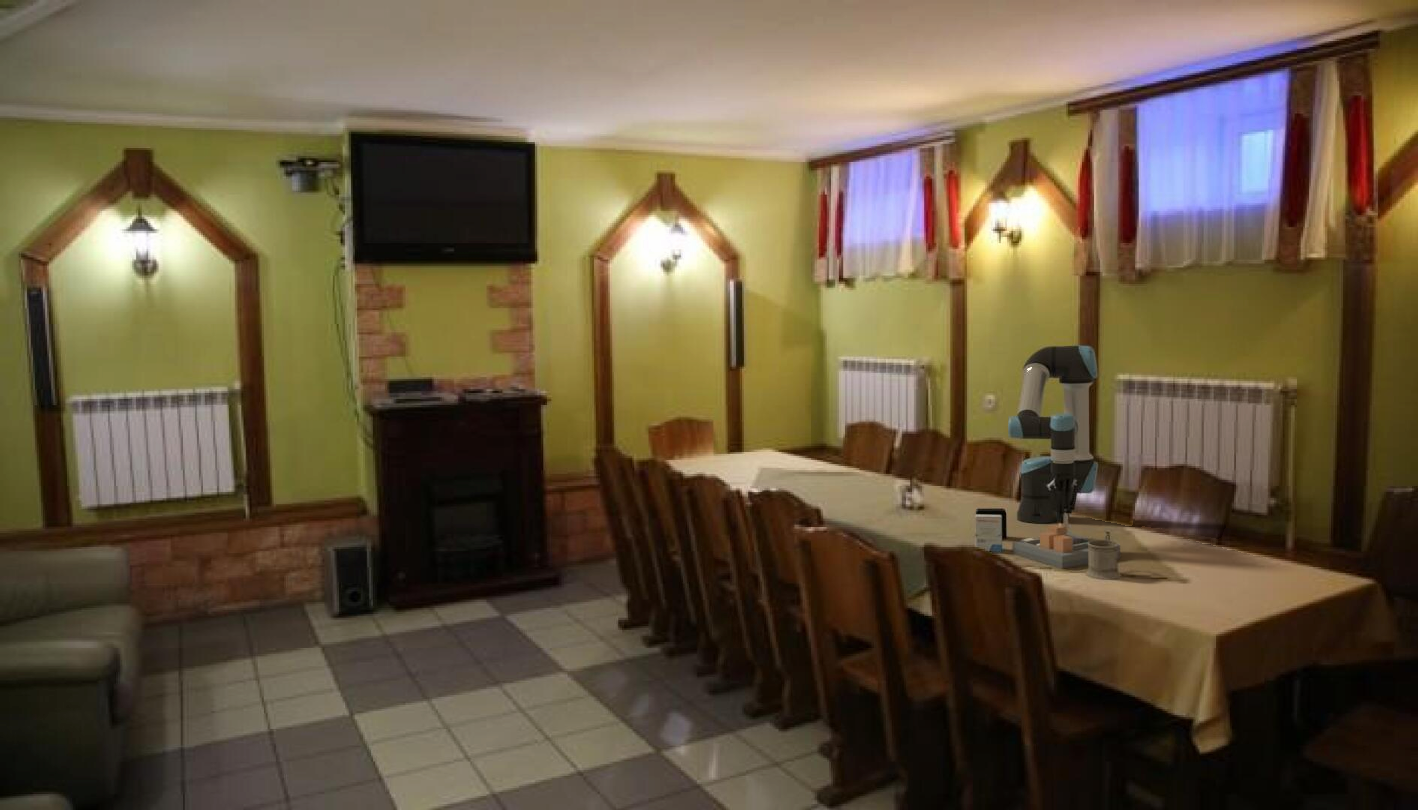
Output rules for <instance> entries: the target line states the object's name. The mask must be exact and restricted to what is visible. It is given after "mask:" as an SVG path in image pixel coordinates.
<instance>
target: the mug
mask: <svg viewBox="0 0 1418 810" xmlns="http://www.w3.org/2000/svg"><path fill="white" fill-rule="evenodd" d="M1103 532H1105V534H1104V539H1097V540H1092V541H1089V542H1088V550H1089V564H1088V568H1087V571H1086V572H1085V576H1086V577H1088V578H1090V579H1096V580H1103V581H1104V580H1105V581H1106V580H1118V579H1120V578H1121V577H1122V575H1121V573H1120V572H1119V569H1118V567H1119V561H1118V559H1119V558H1118V546H1119V545H1120V544H1119V543H1118V542H1117V541H1114V540H1111V534H1110V532H1111V530H1108V529H1107V530H1103Z"/></svg>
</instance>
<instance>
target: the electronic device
mask: <svg viewBox="0 0 1418 810" xmlns="http://www.w3.org/2000/svg"><path fill="white" fill-rule="evenodd" d="M976 514H981V515H1002V540H1005V539H1007V537H1008V536H1007V535H1008V534H1007V532H1008V531H1007V530H1008V529H1007V512H1006V509H1005V508H991V507H989V508H984V507H983V508H981V507H980V508H976V509H975V515H976Z"/></svg>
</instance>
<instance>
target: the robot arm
mask: <svg viewBox="0 0 1418 810" xmlns="http://www.w3.org/2000/svg"><path fill="white" fill-rule="evenodd" d="M1098 375H1099V374H1098V366H1097V359H1096V353H1095V349H1094V348H1093V347H1092V346H1090V345H1061V346H1058V345H1057V346H1054V345H1053V346H1045V347H1042V348H1040V349H1039V350H1037V351H1035V352H1034V353H1033V354H1032V355H1030V356H1029V357H1028V359H1027V360H1026V362H1025V363H1024V365H1023V367H1022V373H1021V376H1022V379H1023V382H1022V386H1021V387H1022V389H1021V392H1020V393H1021V394H1020V399H1019V402H1018V407H1017V413H1016V415H1015V416H1010V417H1009V419H1008V421H1007V422H1008V425H1007V429H1008V431H1007V432H1008V436H1009V437H1010V438H1011V439H1020V440H1050V456H1046V455H1045V456H1043V455H1042V456H1035V457H1030V458H1026V459H1024V460H1023V461H1022V462H1021V465H1020V466H1021V467H1020V468H1021V469H1020V470H1021V471H1020V477H1021V478H1020V479H1021V481H1020V482H1021V484H1020V486H1021V487H1020V488H1021V490H1020V491H1021V498H1020V503H1019V507H1018V509H1017V511H1016V520H1018V521H1019V522H1024V523H1030V524H1031V523H1032V524H1050V523H1055V522H1057V523H1058V525H1061V526H1065V527H1066V533H1068V532H1069V522H1070V514H1072V513H1073V511H1075V509H1076V508H1075V507H1076V504H1077V503H1076V502H1077V497H1078V495H1081V494H1091V493H1093V492H1094V490H1095V487H1096V482H1097V475H1098V466H1099V463H1098V462H1097V461H1095V460H1094V456H1093V455H1092V453H1090V409H1089V408H1090V398H1089V397H1090V394H1089V393H1090V391H1089V390H1090V389H1089V388H1090V386H1092V385H1093V384H1094V379H1096V378H1098ZM1050 379H1059V380H1058V382H1059V385H1060V386H1062V387H1063V413H1055V414H1052V415H1051V416H1041V412H1042V406H1043V402H1044V401H1043V400H1044V394H1045V388H1046V384H1047V382H1048V381H1049V380H1050Z"/></svg>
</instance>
